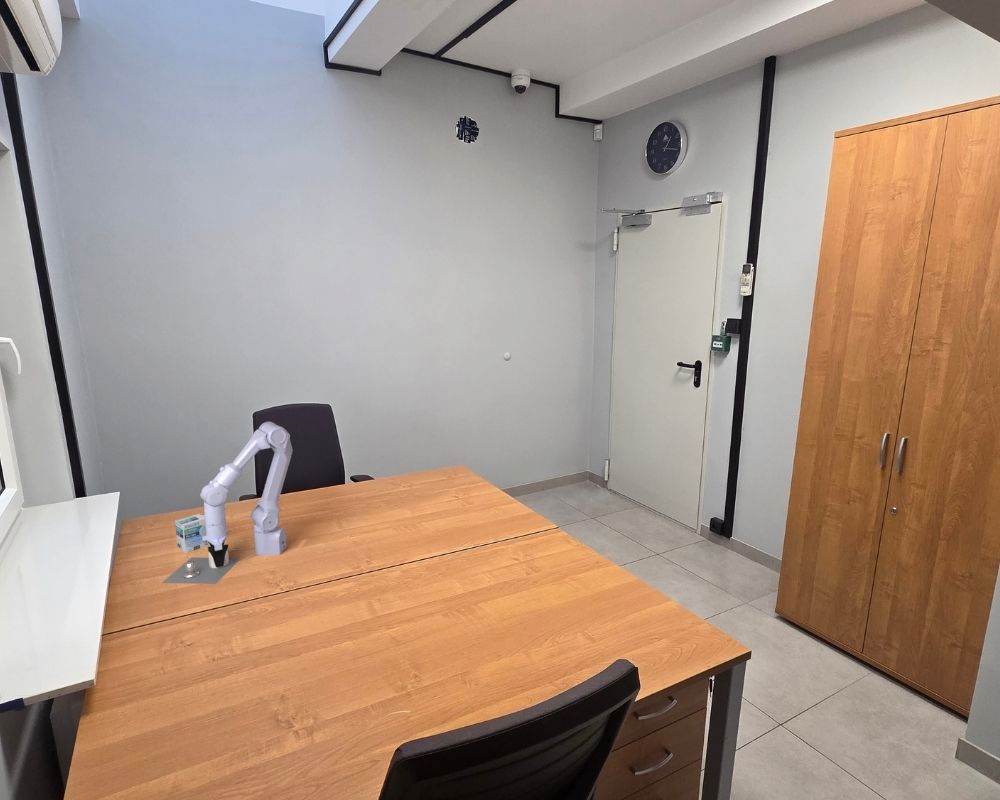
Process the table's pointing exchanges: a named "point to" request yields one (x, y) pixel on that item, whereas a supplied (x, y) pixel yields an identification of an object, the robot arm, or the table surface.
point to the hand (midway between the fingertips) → (219, 562)
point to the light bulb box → (191, 533)
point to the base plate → (201, 572)
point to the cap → (212, 564)
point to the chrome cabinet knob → (190, 570)
